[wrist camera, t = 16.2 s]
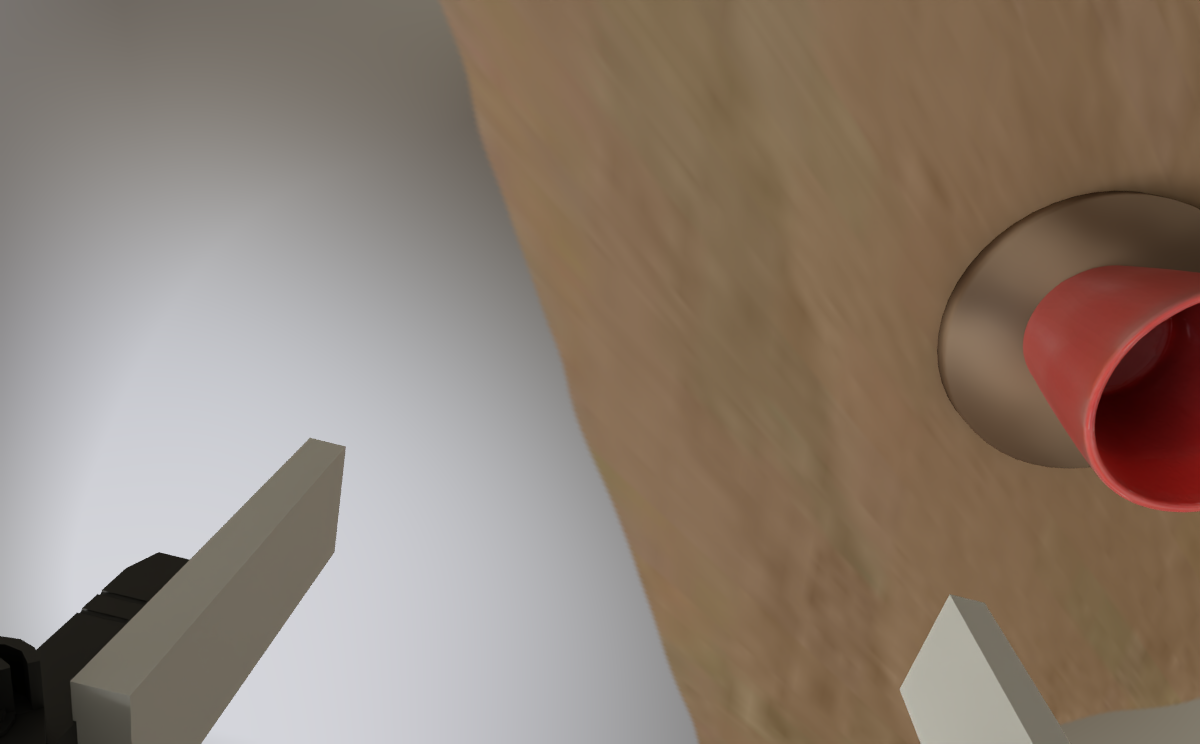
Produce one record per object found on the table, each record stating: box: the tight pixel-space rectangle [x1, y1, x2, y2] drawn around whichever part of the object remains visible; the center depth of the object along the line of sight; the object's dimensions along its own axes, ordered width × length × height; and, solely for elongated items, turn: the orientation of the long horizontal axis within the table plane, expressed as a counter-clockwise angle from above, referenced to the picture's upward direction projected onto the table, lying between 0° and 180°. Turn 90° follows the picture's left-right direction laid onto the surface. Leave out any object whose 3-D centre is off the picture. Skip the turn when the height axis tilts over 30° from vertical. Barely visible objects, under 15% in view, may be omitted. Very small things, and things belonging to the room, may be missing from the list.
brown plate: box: [937, 191, 1200, 468], centre depth 41 cm, size 16×16×2 cm
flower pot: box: [1023, 265, 1200, 512], centre depth 35 cm, size 11×11×10 cm
